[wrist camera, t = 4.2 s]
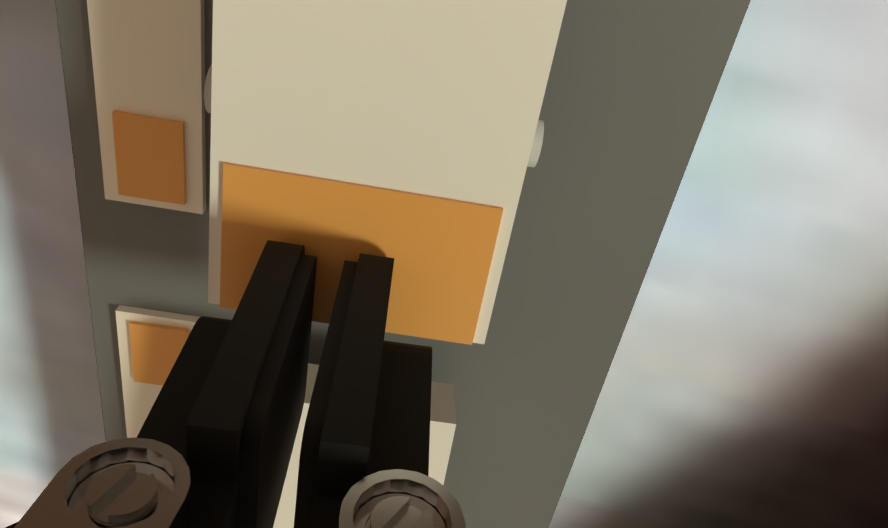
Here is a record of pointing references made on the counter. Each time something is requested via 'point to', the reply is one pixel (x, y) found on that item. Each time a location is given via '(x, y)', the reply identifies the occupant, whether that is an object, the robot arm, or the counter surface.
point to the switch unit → (528, 254)
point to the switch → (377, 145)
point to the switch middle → (438, 446)
